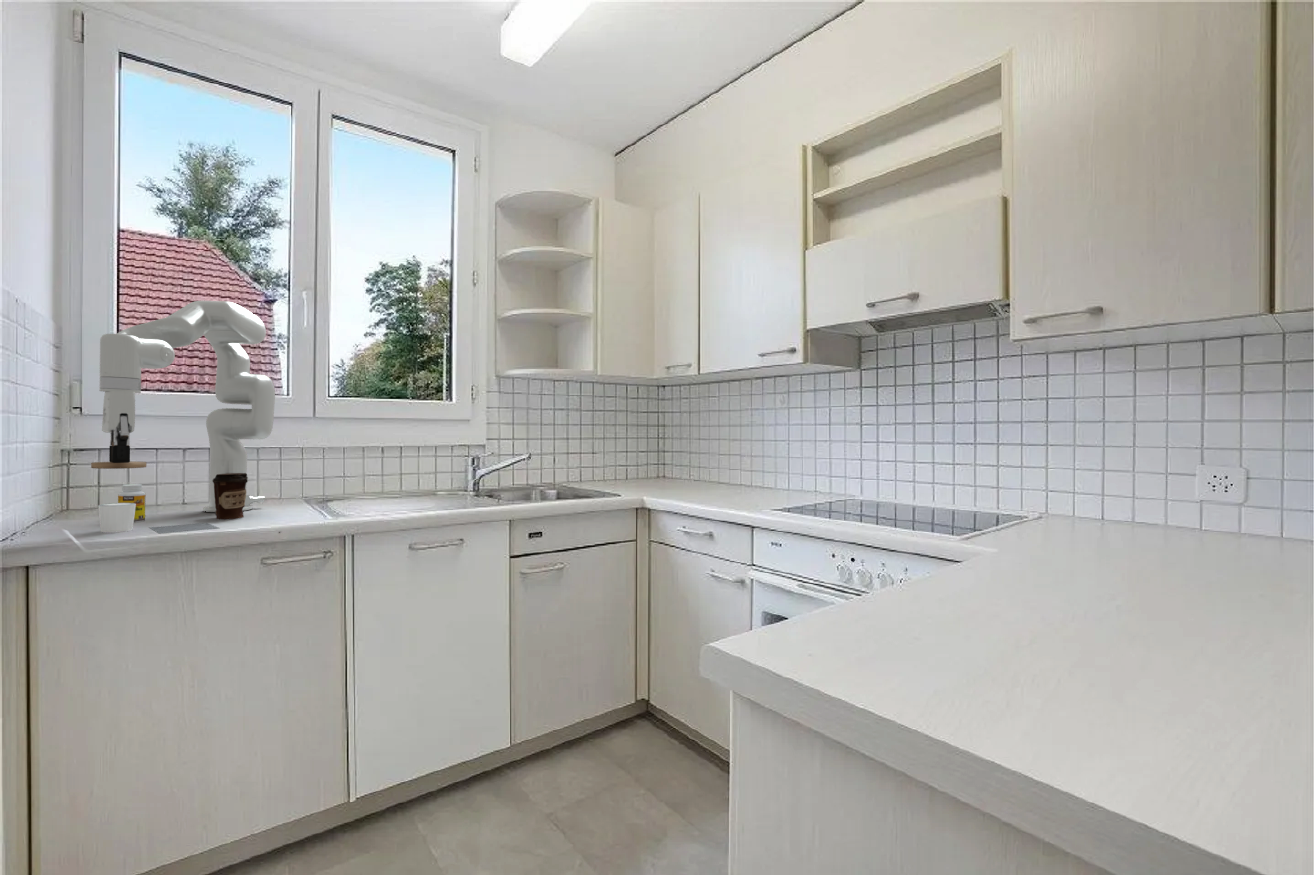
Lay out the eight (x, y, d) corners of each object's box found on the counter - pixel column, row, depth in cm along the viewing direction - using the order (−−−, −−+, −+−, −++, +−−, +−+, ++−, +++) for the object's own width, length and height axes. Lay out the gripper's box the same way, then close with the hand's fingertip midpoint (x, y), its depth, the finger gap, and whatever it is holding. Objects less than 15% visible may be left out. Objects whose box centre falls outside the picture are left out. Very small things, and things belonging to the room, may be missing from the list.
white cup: (126, 535, 145) (126, 505, 145) (90, 535, 144) (91, 505, 143) (141, 530, 152) (141, 502, 152) (107, 531, 150) (108, 502, 150)
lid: (141, 465, 155) (141, 442, 155) (150, 467, 148) (150, 443, 148) (87, 467, 147) (88, 442, 147) (94, 469, 141) (95, 443, 141)
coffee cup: (255, 519, 174) (256, 473, 174) (224, 522, 166) (225, 474, 166) (236, 516, 177) (237, 472, 177) (205, 520, 170) (205, 473, 170)
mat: (207, 525, 162) (207, 522, 162) (219, 530, 154) (219, 528, 154) (148, 529, 153) (148, 527, 153) (159, 535, 145) (159, 533, 145)
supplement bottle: (118, 525, 159) (118, 485, 159) (116, 522, 163) (117, 484, 163) (146, 523, 163) (146, 485, 162) (144, 521, 167) (144, 483, 166)
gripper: (94, 386, 150) (93, 461, 150) (105, 383, 139) (104, 464, 139) (134, 388, 156) (133, 460, 156) (147, 385, 145) (146, 463, 145)
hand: (119, 461), depth 148 cm, fingers closed on lid, 2 cm apart
